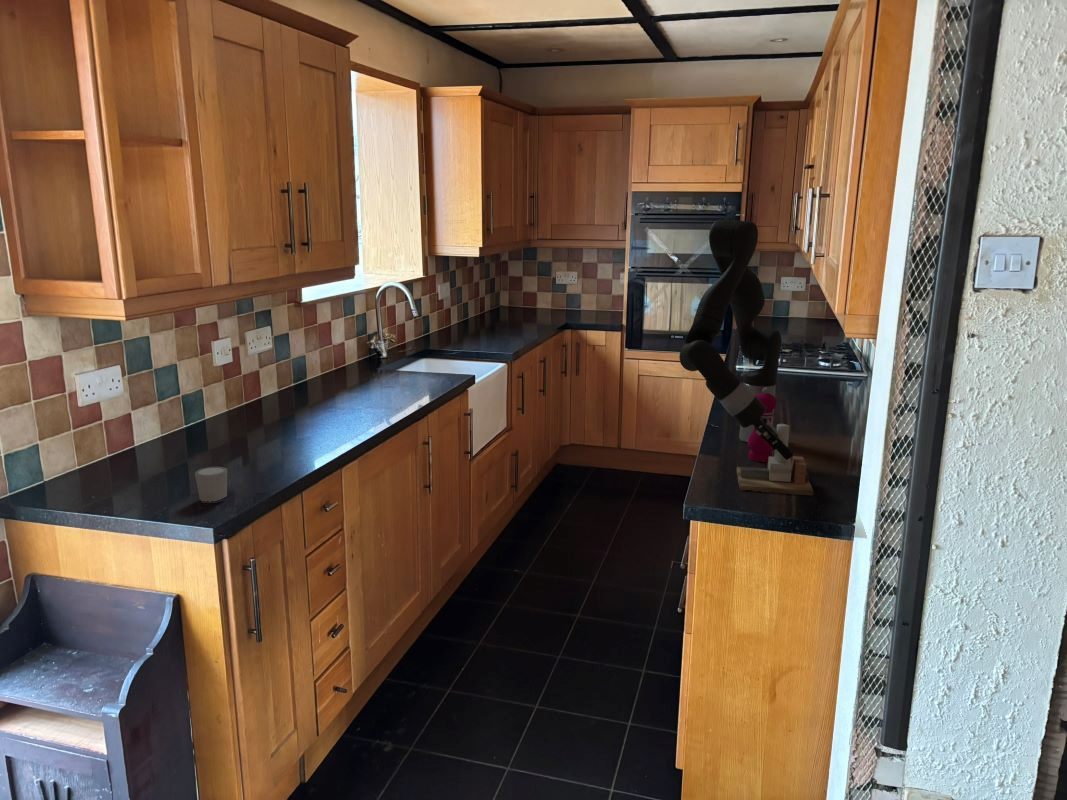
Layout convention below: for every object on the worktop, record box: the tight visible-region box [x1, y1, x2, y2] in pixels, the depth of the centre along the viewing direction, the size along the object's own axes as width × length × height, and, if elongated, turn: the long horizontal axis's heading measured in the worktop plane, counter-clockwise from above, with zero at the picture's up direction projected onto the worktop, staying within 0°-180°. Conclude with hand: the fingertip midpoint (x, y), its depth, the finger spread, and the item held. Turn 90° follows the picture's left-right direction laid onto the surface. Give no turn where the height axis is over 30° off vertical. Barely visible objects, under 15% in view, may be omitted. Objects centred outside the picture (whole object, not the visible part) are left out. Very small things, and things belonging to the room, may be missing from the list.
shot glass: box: [194, 466, 228, 502], centre depth 178 cm, size 7×7×7 cm
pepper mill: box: [747, 388, 777, 463], centre depth 213 cm, size 7×7×20 cm
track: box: [736, 455, 814, 496], centre depth 195 cm, size 15×17×6 cm
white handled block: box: [767, 423, 792, 482], centre depth 193 cm, size 6×5×13 cm
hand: (789, 455), depth 193 cm, fingers closed on white handled block, 3 cm apart
